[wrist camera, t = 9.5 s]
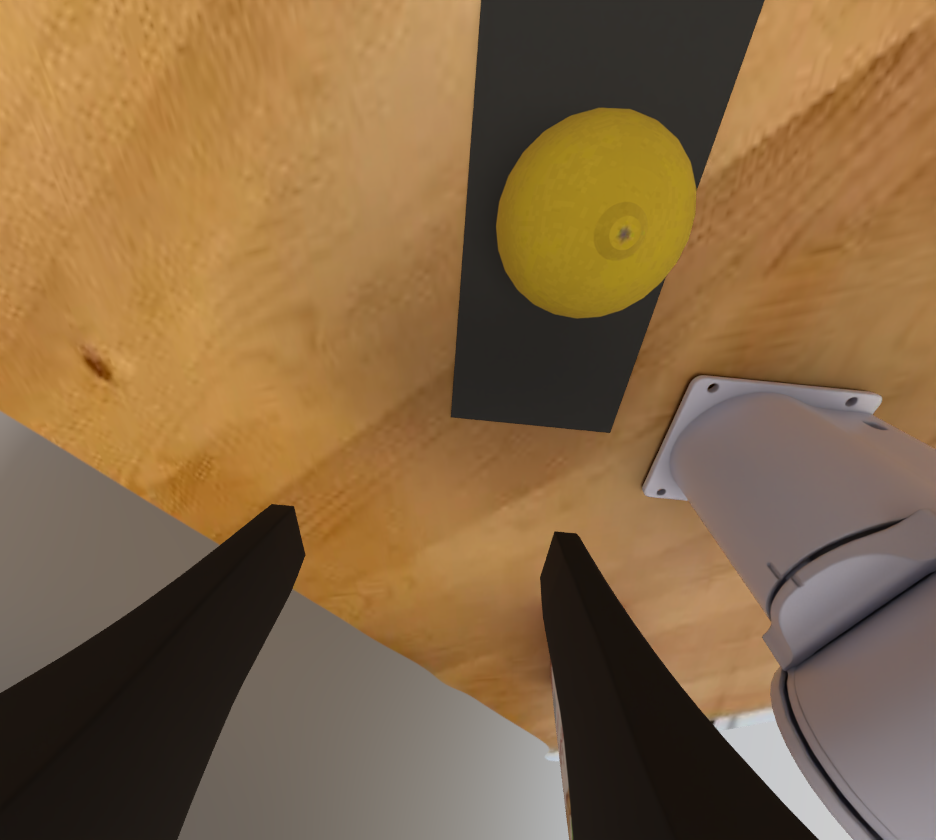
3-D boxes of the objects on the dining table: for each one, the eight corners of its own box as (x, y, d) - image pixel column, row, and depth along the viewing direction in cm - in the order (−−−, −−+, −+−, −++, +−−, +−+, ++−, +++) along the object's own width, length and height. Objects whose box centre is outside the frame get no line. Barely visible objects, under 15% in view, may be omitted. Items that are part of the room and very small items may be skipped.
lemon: (500, 132, 13) (515, 54, 6) (648, 139, 13) (823, 69, 6) (489, 287, 16) (491, 347, 9) (610, 293, 16) (703, 359, 9)
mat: (828, -183, 10) (831, -187, 9) (609, 432, 20) (610, 432, 20) (497, -220, 10) (497, -224, 9) (451, 416, 20) (451, 417, 20)
